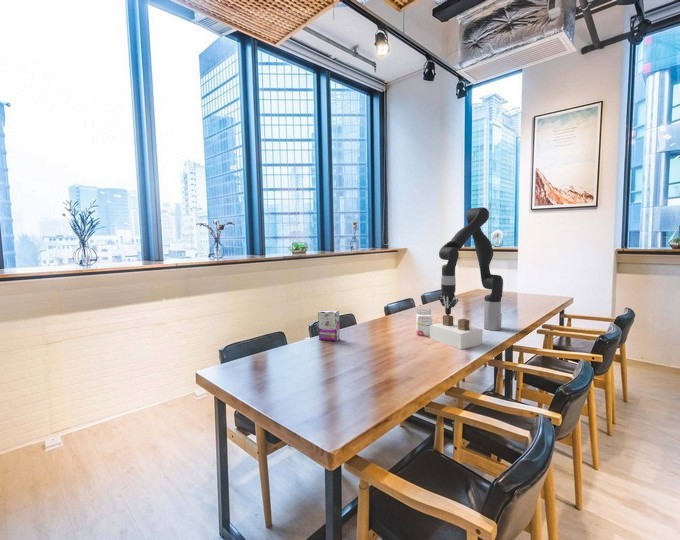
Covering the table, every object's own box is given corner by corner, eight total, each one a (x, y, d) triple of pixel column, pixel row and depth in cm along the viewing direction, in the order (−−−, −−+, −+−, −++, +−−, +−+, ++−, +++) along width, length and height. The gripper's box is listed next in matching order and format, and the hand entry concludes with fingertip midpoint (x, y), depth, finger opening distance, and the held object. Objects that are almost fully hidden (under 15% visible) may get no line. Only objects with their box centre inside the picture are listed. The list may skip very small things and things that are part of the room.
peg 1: (447, 327, 199) (447, 314, 198) (453, 328, 196) (453, 316, 195) (442, 328, 197) (442, 315, 197) (448, 329, 194) (448, 317, 193)
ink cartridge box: (417, 335, 204) (417, 310, 203) (416, 333, 209) (416, 309, 208) (432, 335, 203) (432, 310, 202) (431, 333, 208) (431, 309, 207)
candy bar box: (340, 339, 201) (339, 310, 199) (336, 341, 196) (336, 312, 195) (322, 337, 205) (321, 309, 203) (318, 339, 200) (317, 311, 199)
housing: (450, 334, 206) (450, 320, 205) (482, 344, 187) (482, 329, 186) (430, 338, 198) (430, 324, 197) (461, 349, 179) (461, 333, 178)
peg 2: (463, 331, 190) (463, 318, 189) (469, 333, 186) (469, 320, 185) (458, 332, 188) (458, 319, 187) (463, 334, 184) (464, 321, 184)
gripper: (462, 284, 190) (462, 315, 192) (444, 281, 202) (444, 311, 203) (452, 285, 186) (452, 317, 188) (434, 282, 198) (434, 313, 200)
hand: (448, 314), depth 196 cm, fingers closed
